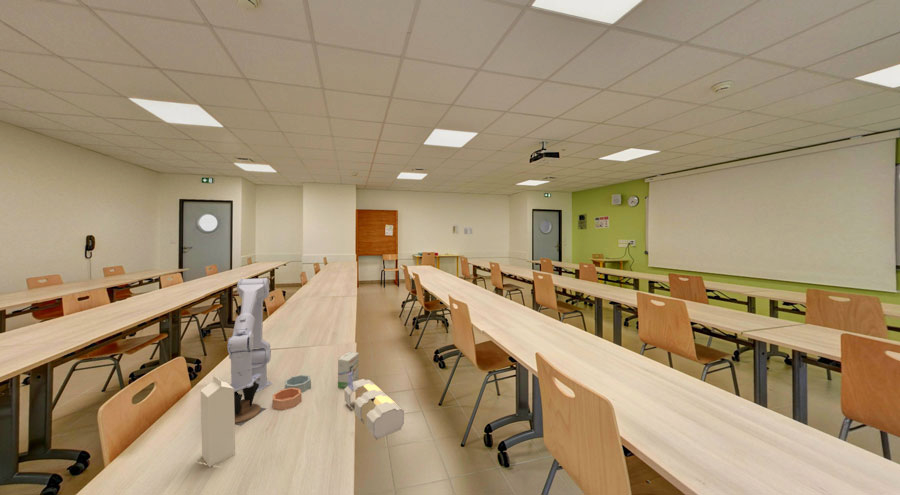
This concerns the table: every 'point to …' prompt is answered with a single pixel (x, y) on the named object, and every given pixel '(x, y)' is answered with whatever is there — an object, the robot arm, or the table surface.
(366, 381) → the beige chunky openwork piece
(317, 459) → the table surface
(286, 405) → the bowl terracotta
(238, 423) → the mat
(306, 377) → the bowl slate
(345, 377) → the ink box
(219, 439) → the milk
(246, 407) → the lid
